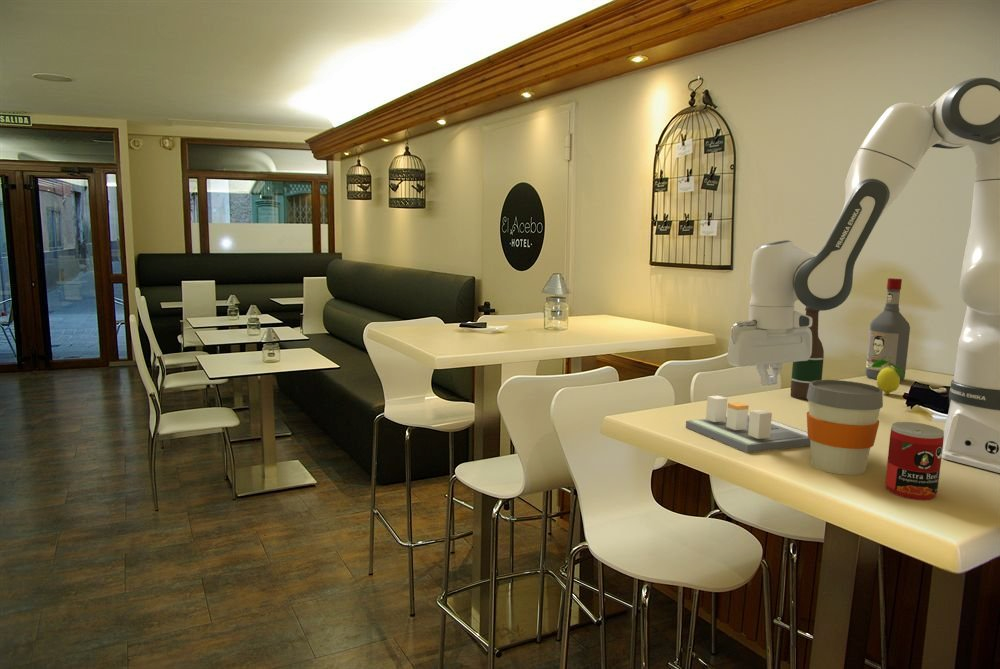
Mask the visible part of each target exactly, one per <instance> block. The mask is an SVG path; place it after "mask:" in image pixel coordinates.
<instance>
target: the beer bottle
mask: <svg viewBox="0 0 1000 669" xmlns="http://www.w3.org/2000/svg"><path fill="white" fill-rule="evenodd" d="M804 310H805V315H807V316H810V317H811V318H812V320H813V321H812V326H811V327H808V328H809V329H810V330H811V332H812V353H811V356H810V358H809V359H808V360H807V361H797V362H792V368H791V380H790V381H791V382H790V397H791V398H793V399H797V400H805V401H808V399H807V398H806V397H807V393H808V388H809V383H810V382H812V381H816V380H823V379H822V378H823V369H824V357H825V354H824V353H825V352H824V346H823V343H822V341H821V340H820V338H819V315H820V314H819V313H820V310H814V309H811V308H809V307H807V306H805V308H804Z"/></svg>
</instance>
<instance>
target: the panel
mask: <svg viewBox="0 0 1000 669" xmlns="http://www.w3.org/2000/svg"><path fill="white" fill-rule="evenodd" d="M749 417H750V414H748V420H747V429H742V430H733V429H731V428H728V427H726V421H727V416H726V421H722V422H713V421H710V420H707V419H706V418H702V419H701V418H700V419H693V420H691V419H690V420H686V421H685V429H688V428H689V429H688V430H690V429H691V430H690V431H693V432H695V431H696V433H698V434H700V433H701V435H702V434H703V436H705V437H707V436H708V437H707V438H710V437H711V438H710V439H712V438H713V439H712V440H715V441H717V440H718V441H717V442H719V441H720V442H719V443H722V444H724V445H727V446H728V447H729V446H730V447H732V448H734V449H736V450H739V451H742V452H743V453H746V454H751V453H758V452H766V451H774V450H775V451H776V450H783V449H791V448H797V447H798V448H799V447H807V446H808V447H809V446H811V444H810V439H809V438H808V431H806V430H803V429H799V428H798V427H793V426H790V425H788V424H785V423H782V422H779V421H776V420H773V419H771V430H770V438H761V439H757V438H755V437H752V436H749V435H748V430H749Z"/></svg>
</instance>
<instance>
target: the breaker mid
mask: <svg viewBox="0 0 1000 669" xmlns="http://www.w3.org/2000/svg"><path fill="white" fill-rule="evenodd" d="M749 406H750V405H749V404H747V403H746V404H745V403H743V402H740V401H738V402H729V403H728V402H727V411H726V417H727V421H726V427H728V428H731V429H733V430H742V429H747V420H748V415H749Z"/></svg>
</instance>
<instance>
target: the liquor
mask: <svg viewBox="0 0 1000 669" xmlns="http://www.w3.org/2000/svg"><path fill="white" fill-rule="evenodd" d="M902 281H903V280H902V279H901V278H890V277H889V278H887V283H886V298H885V306H884V307H883V311H882V312H880V313H879V314H878V315H877V316H876V317H875V318H873V319H872V320H871V322H870V324H869V333H868V343H867V353H866V365H865V372H864V373H865V376H866V378H868V379H871V378H873V379H872V380H876V379H877V376H878V374H879V372H880V371H881V370H882V369H883V368H886V367H888V366H889V363H890V358H891V364H892V365H894V366H898V367H899V368H900V369H901V370H902V372H903V374H904V377H905V378H906V370H907V361H908V353H909V352H908V351H909V341H910V332H911V325H910V323H909V322H908V321H907V319H906V318H905V317H904V315H903V314H902V313H901V311H900V308H899V307H900V295H901V290H902ZM878 360H885V361H889V362H887V364H886V365H884V366H881V367H877V368H873V367H871V366H872V365H873V364H874V363H875V362H876V361H878ZM891 364H890V366H891V367H892V368H894V367H893V366H892V365H891ZM894 369H895V368H894ZM896 371H897V372H898V374H899V377H900V380H903V381H904V380H905V378H904V377H903V376H902V375H901V374H900V373H899V371H898V370H896Z"/></svg>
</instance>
